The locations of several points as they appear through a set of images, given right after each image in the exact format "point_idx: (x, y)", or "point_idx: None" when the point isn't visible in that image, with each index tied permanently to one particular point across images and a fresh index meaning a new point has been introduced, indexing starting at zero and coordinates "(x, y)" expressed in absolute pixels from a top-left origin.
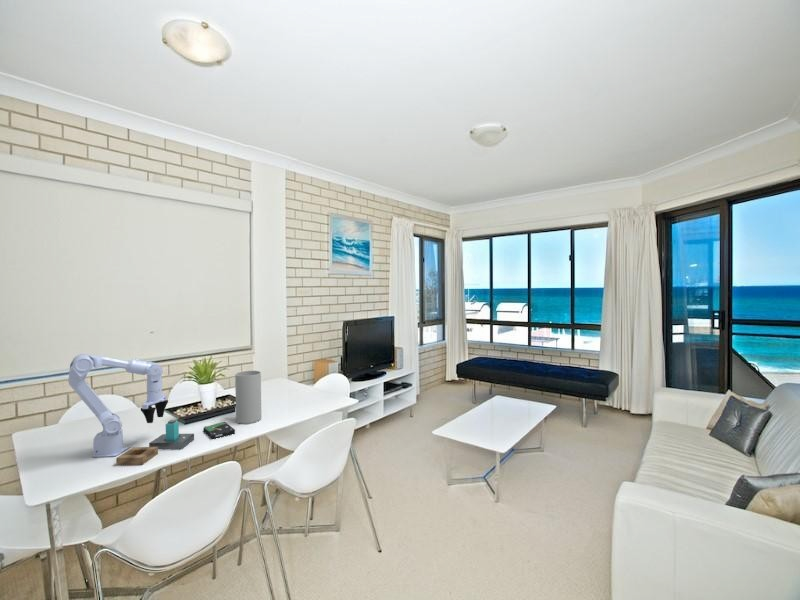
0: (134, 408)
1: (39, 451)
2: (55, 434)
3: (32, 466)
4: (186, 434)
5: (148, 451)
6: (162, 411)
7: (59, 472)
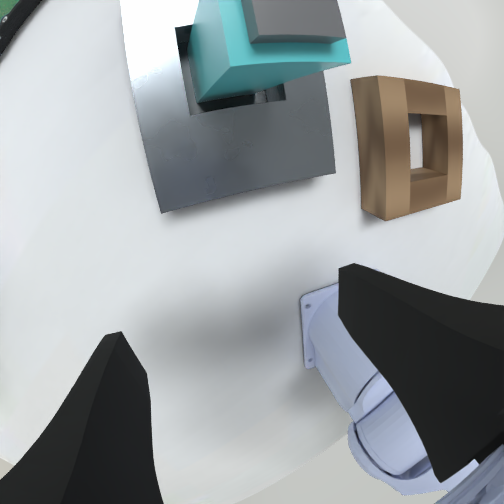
0: None
1: (309, 451)
2: (219, 491)
3: None
4: (141, 9)
5: (423, 94)
6: (106, 396)
7: None
